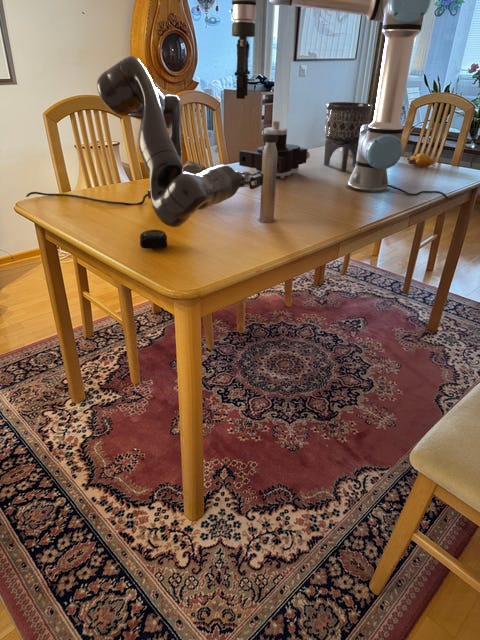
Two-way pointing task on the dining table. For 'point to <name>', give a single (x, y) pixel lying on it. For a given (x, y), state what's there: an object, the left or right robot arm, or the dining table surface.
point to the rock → (193, 168)
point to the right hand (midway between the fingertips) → (242, 97)
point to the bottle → (268, 182)
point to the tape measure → (153, 239)
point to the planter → (344, 129)
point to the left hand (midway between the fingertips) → (243, 173)
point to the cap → (270, 137)
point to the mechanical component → (286, 154)
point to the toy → (420, 160)
